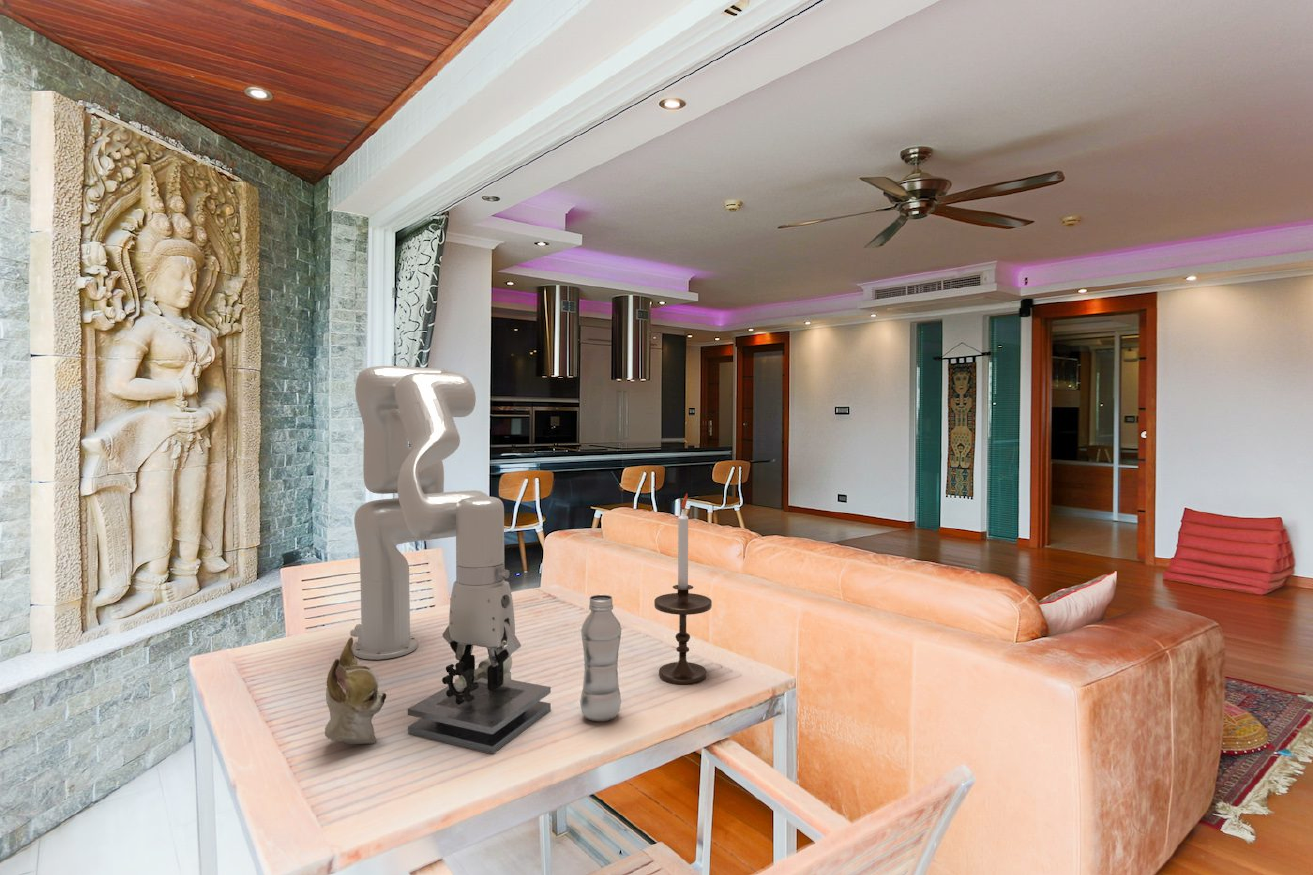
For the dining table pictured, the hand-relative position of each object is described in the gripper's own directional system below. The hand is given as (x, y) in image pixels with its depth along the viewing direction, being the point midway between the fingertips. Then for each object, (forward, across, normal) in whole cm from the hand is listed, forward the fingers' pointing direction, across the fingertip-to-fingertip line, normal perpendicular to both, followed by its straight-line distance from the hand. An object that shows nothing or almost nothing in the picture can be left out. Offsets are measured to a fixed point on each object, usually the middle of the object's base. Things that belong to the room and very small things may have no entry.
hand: (481, 683), depth 112 cm
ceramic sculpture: (+6, +12, +14) cm, 20 cm away
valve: (+2, 0, -1) cm, 2 cm away
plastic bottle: (+6, -17, -9) cm, 20 cm away
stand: (+6, 0, 0) cm, 6 cm away
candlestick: (+6, -23, -31) cm, 39 cm away
